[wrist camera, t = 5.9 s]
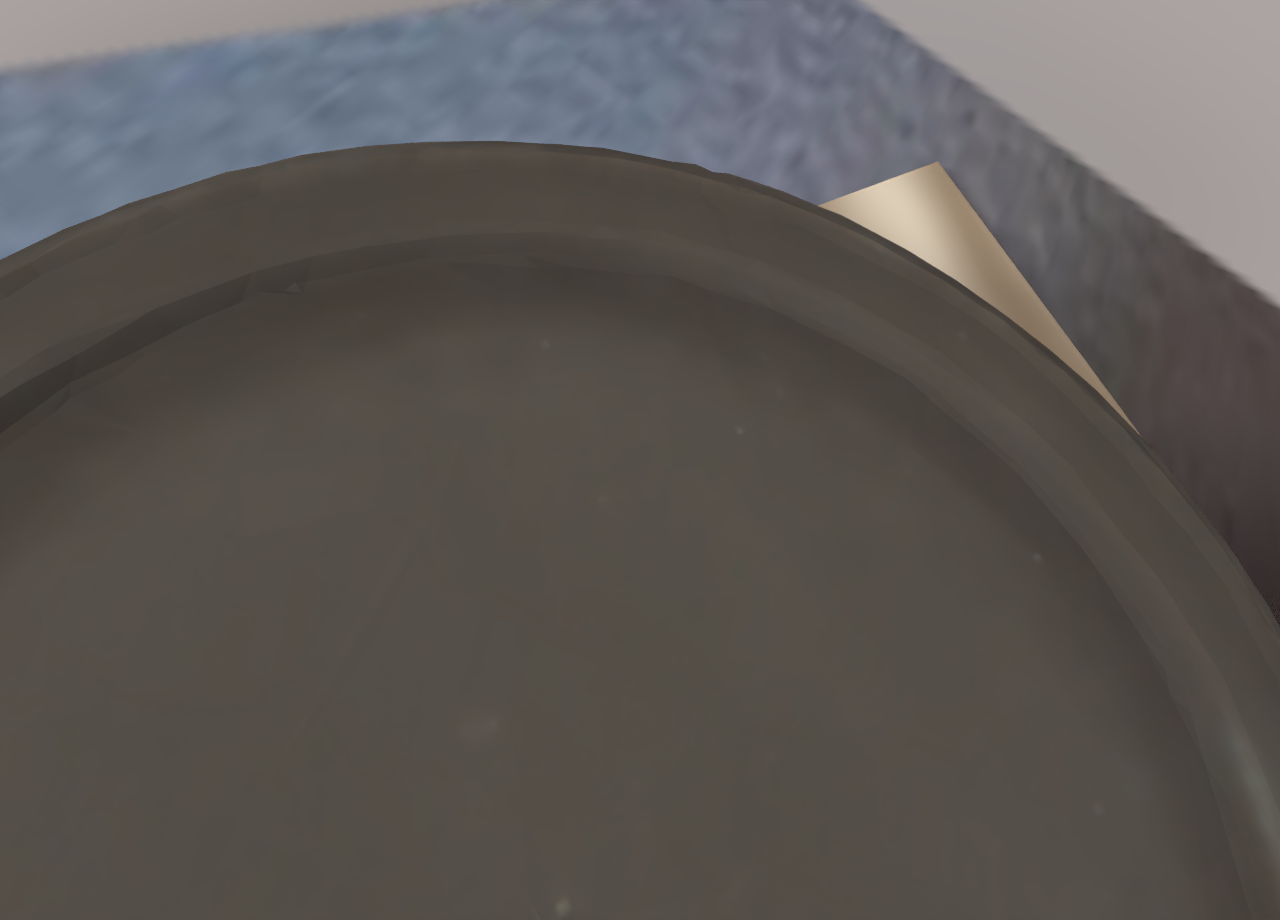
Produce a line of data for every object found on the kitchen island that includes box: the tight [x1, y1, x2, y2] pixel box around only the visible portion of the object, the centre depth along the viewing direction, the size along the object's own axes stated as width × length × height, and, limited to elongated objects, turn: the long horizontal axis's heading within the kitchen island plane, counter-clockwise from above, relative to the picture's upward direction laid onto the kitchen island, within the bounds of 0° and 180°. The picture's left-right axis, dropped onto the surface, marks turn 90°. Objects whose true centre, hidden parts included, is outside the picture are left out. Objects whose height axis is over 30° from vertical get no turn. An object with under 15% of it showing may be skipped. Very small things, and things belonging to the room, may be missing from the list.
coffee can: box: [0, 141, 1280, 920], centre depth 10 cm, size 10×10×14 cm
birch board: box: [819, 162, 1141, 436], centre depth 21 cm, size 14×14×1 cm
